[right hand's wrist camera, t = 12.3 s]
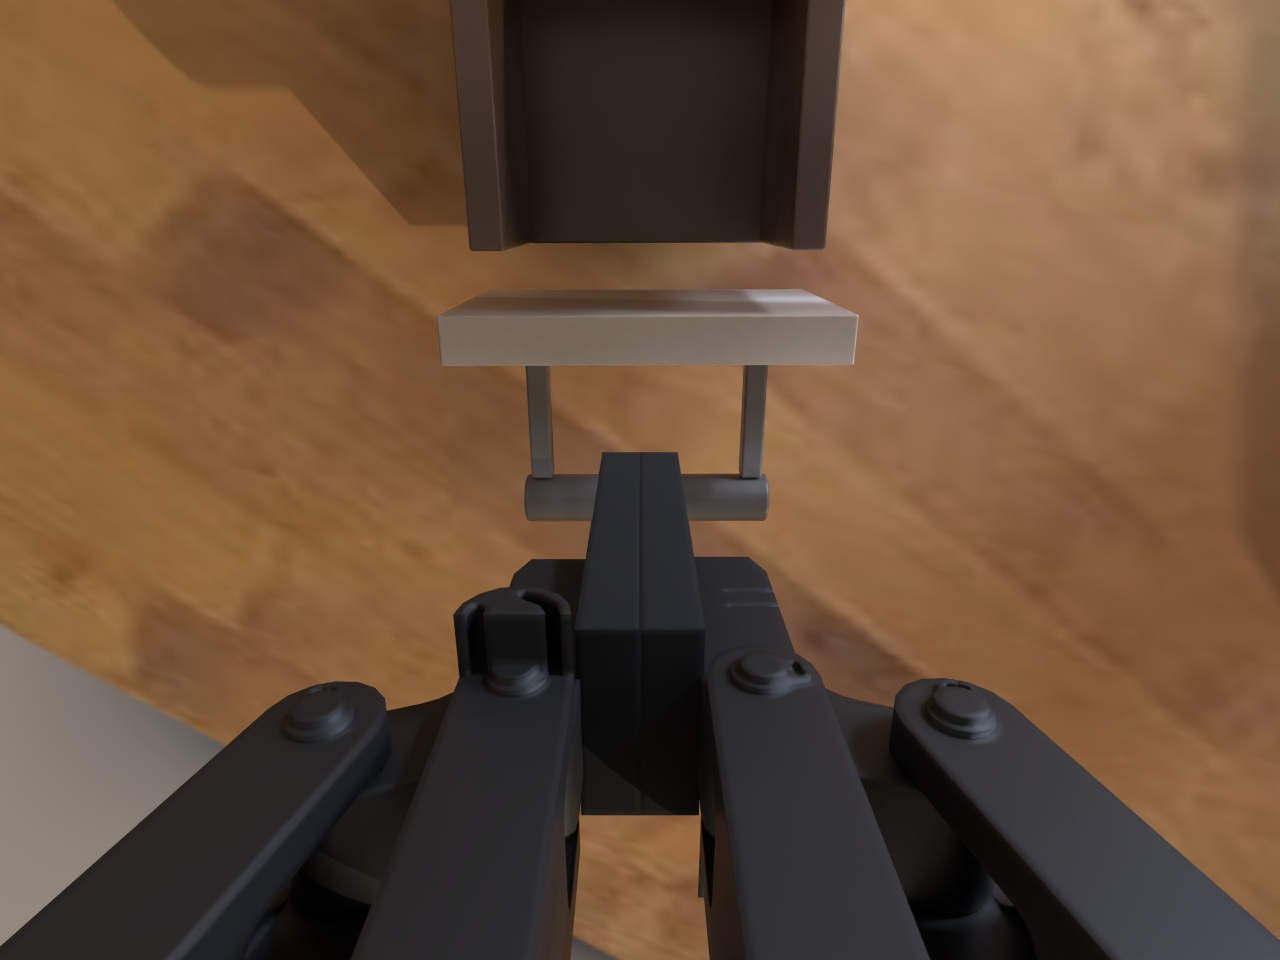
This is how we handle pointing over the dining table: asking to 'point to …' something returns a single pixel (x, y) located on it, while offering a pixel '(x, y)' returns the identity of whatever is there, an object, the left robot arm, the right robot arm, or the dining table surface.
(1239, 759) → the dining table surface
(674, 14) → the drawer
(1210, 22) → the dining table surface
